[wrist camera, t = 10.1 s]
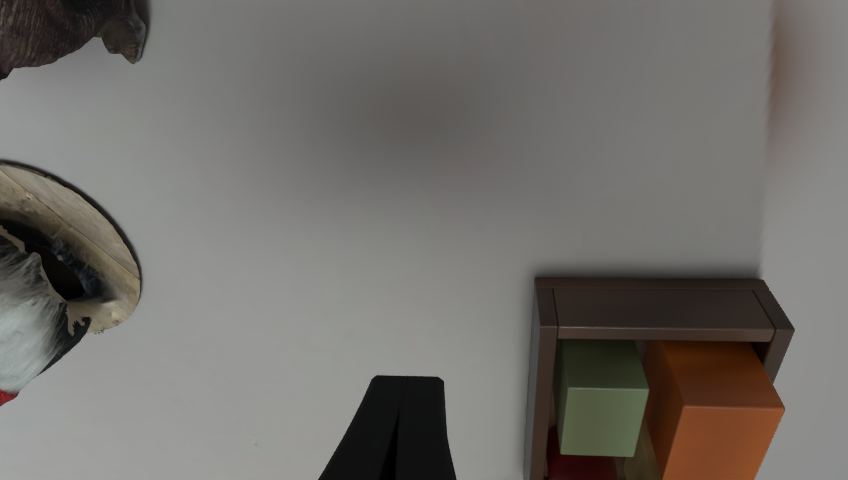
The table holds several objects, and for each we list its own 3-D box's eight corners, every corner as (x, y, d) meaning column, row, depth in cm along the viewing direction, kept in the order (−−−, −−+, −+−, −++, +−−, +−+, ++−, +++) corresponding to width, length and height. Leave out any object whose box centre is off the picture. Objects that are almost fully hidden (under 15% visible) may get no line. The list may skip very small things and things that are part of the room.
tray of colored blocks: (763, 278, 20) (827, 377, 17) (694, 479, 27) (728, 581, 23) (534, 277, 21) (545, 371, 17) (522, 472, 28) (528, 570, 24)
